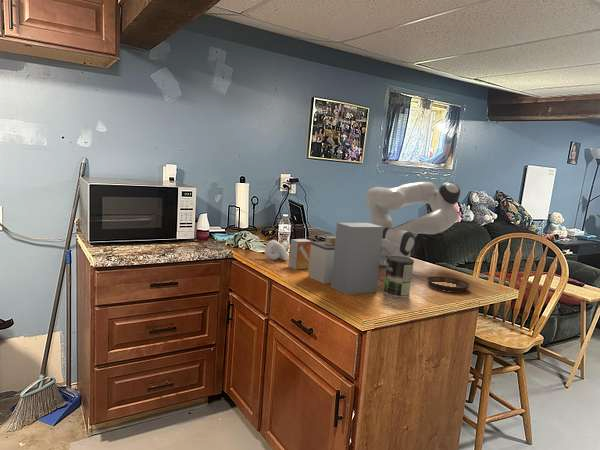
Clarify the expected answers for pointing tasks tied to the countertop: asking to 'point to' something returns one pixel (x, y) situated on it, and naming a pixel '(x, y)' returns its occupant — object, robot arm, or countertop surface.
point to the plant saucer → (459, 283)
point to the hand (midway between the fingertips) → (364, 233)
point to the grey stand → (356, 257)
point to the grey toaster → (321, 262)
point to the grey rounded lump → (276, 250)
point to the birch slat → (330, 240)
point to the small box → (299, 253)
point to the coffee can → (398, 276)
